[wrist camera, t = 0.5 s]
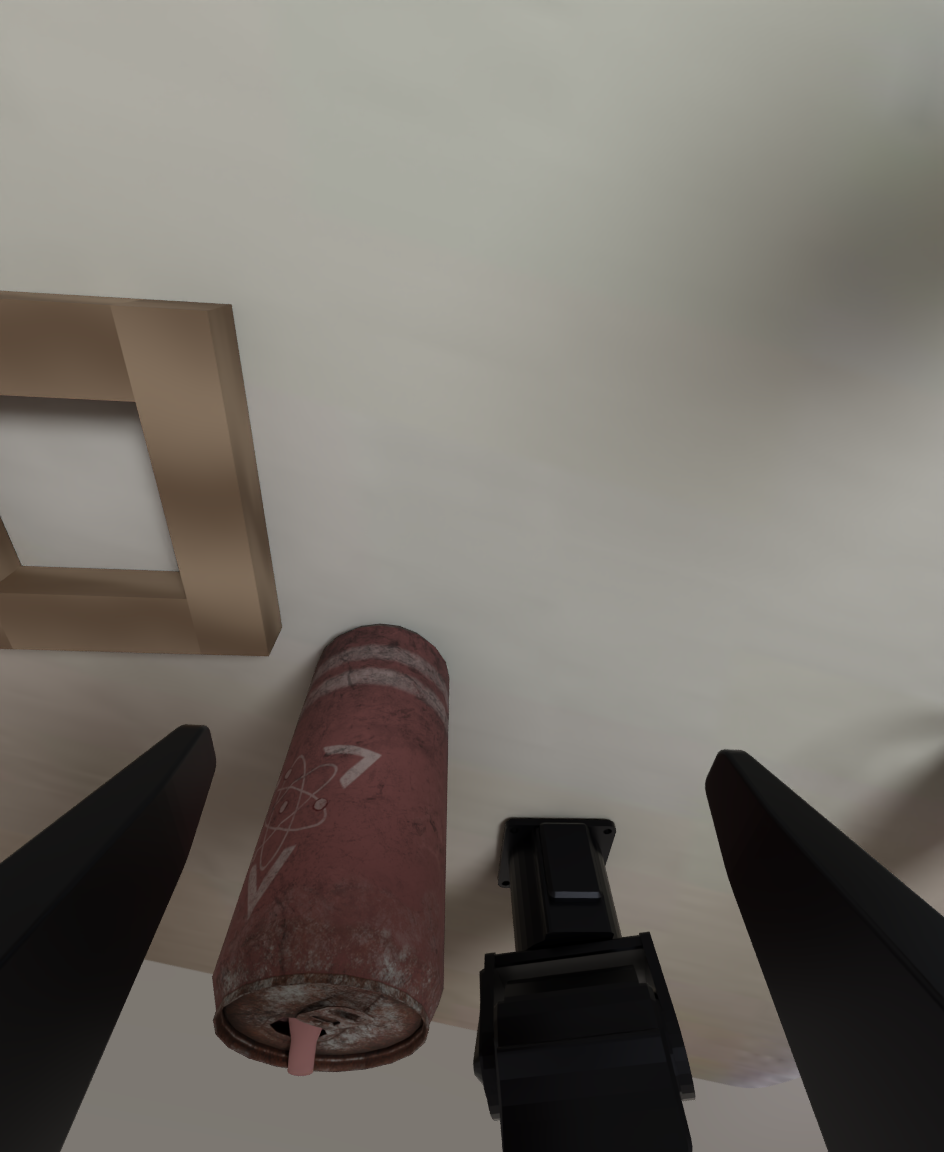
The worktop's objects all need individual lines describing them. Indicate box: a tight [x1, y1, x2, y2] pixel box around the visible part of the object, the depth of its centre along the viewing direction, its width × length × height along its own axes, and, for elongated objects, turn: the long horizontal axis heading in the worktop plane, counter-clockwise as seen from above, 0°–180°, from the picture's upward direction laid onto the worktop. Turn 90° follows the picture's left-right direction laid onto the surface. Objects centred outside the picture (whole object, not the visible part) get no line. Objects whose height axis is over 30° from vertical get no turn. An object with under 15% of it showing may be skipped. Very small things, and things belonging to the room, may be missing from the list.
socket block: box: [0, 291, 282, 656], centre depth 20 cm, size 13×13×2 cm
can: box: [212, 624, 449, 1076], centre depth 20 cm, size 6×6×14 cm
